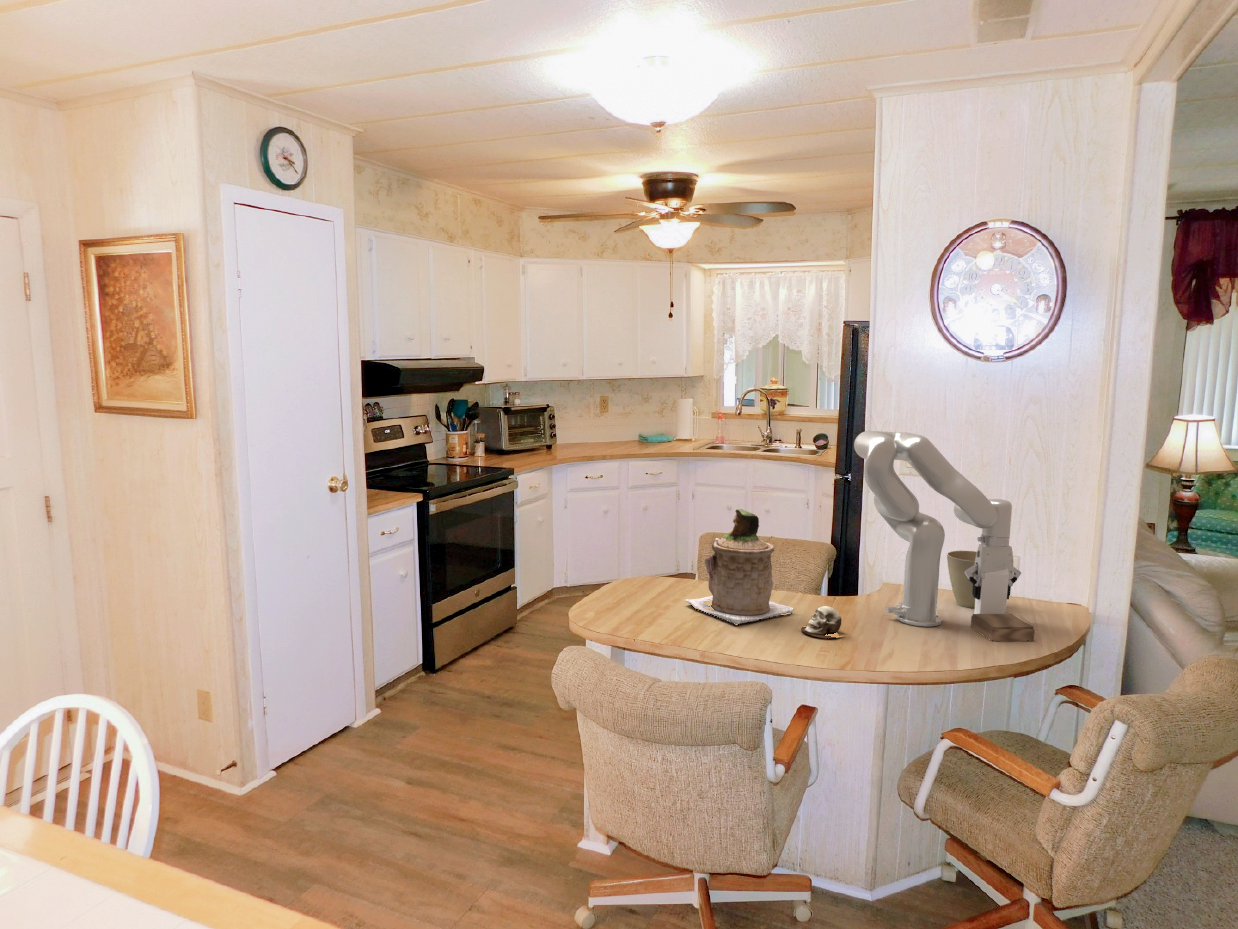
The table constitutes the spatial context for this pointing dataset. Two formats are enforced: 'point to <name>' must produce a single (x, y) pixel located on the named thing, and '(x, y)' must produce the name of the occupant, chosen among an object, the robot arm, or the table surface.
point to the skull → (823, 622)
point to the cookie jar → (741, 575)
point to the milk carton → (993, 593)
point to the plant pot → (961, 576)
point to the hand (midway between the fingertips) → (990, 598)
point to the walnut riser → (1002, 627)
